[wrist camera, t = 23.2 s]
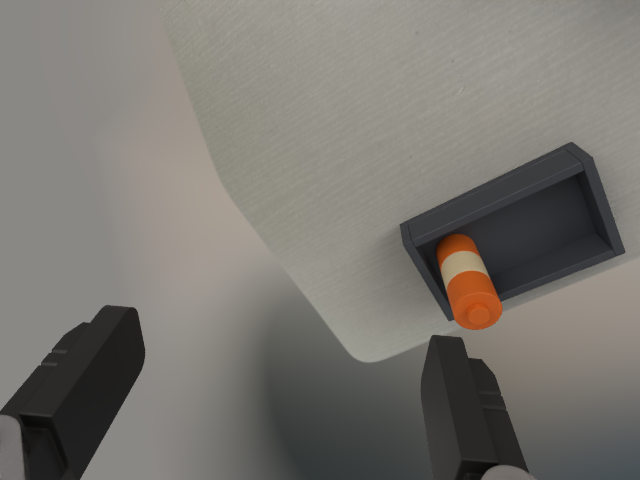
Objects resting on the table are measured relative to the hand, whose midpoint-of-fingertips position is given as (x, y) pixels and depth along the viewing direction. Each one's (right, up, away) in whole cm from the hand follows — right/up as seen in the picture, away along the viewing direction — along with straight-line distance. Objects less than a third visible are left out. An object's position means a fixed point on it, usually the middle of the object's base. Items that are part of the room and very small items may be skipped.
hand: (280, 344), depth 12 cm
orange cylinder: (+14, +2, +29) cm, 32 cm away
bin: (+18, +4, +29) cm, 34 cm away
